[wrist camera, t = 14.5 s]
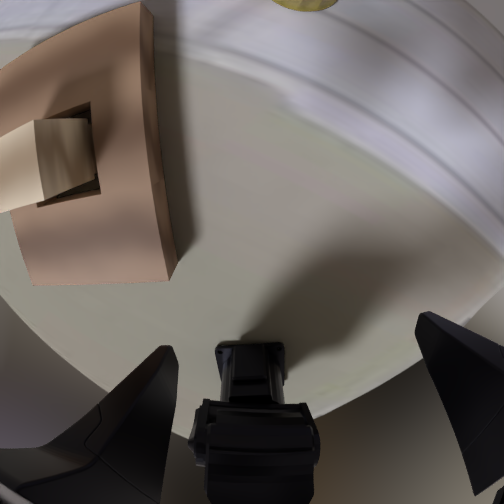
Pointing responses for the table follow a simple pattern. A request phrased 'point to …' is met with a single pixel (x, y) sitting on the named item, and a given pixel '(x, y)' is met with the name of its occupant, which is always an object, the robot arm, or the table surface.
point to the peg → (45, 160)
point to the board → (96, 153)
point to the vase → (305, 4)
